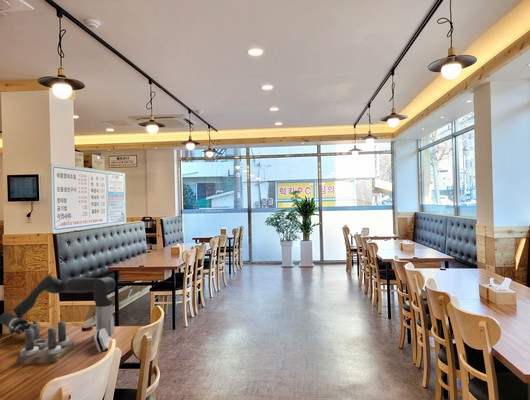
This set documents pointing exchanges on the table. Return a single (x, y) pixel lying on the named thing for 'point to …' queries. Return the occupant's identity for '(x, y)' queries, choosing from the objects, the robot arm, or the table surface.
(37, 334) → the loose leg
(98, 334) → the white arched grooved block
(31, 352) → the upturned partly assembled table
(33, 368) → the table surface
